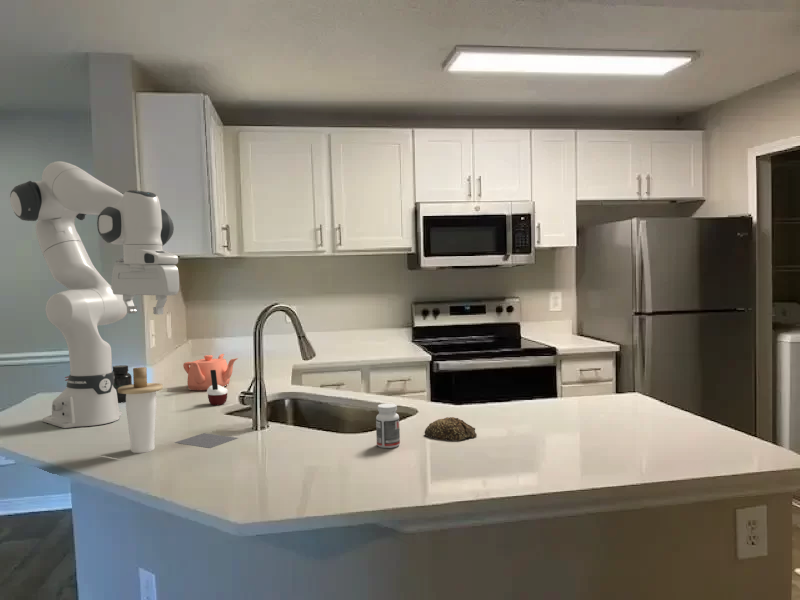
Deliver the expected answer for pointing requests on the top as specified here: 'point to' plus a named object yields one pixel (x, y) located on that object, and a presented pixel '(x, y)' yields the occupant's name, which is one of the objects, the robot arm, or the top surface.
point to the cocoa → (216, 391)
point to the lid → (140, 383)
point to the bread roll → (450, 429)
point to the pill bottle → (387, 426)
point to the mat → (206, 440)
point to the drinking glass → (141, 421)
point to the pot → (208, 372)
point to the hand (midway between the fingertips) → (144, 313)
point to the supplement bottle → (121, 380)
